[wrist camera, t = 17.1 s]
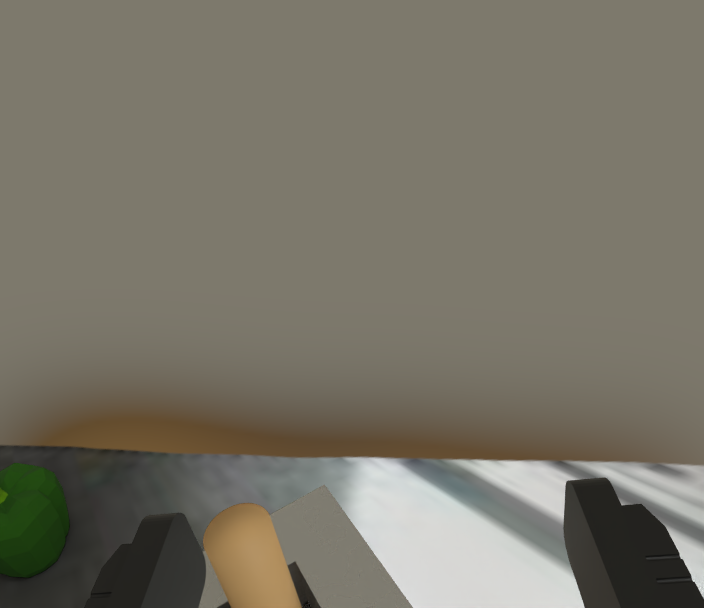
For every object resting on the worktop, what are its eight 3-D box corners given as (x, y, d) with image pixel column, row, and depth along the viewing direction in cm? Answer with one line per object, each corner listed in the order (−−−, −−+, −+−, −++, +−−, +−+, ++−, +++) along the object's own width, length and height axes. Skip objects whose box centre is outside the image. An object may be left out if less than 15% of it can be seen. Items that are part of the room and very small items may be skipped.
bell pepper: (5, 528, 54) (-47, 454, 49) (91, 505, 55) (48, 430, 50) (-28, 609, 47) (-94, 532, 42) (71, 580, 48) (19, 502, 43)
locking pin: (302, 621, 41) (256, 492, 34) (327, 668, 38) (282, 537, 31) (253, 653, 40) (195, 525, 33) (274, 705, 37) (214, 576, 30)
